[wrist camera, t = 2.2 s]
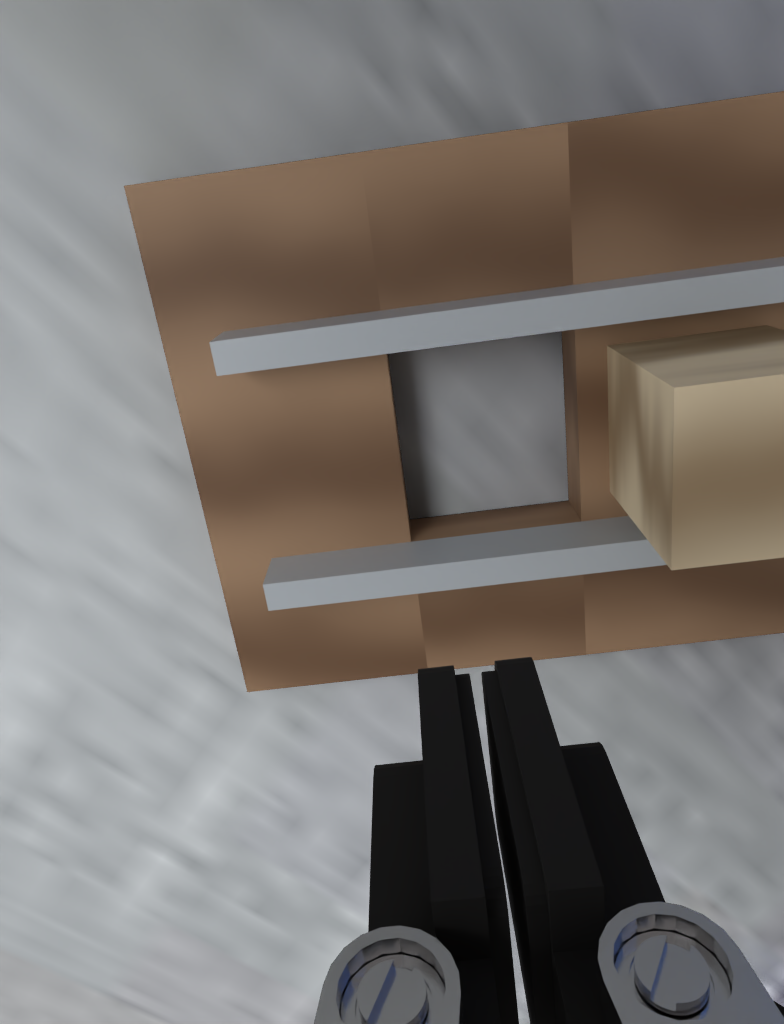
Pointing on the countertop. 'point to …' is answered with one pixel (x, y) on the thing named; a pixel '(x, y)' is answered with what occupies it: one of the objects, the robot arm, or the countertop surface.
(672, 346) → the block
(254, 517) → the deck
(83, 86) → the countertop surface
